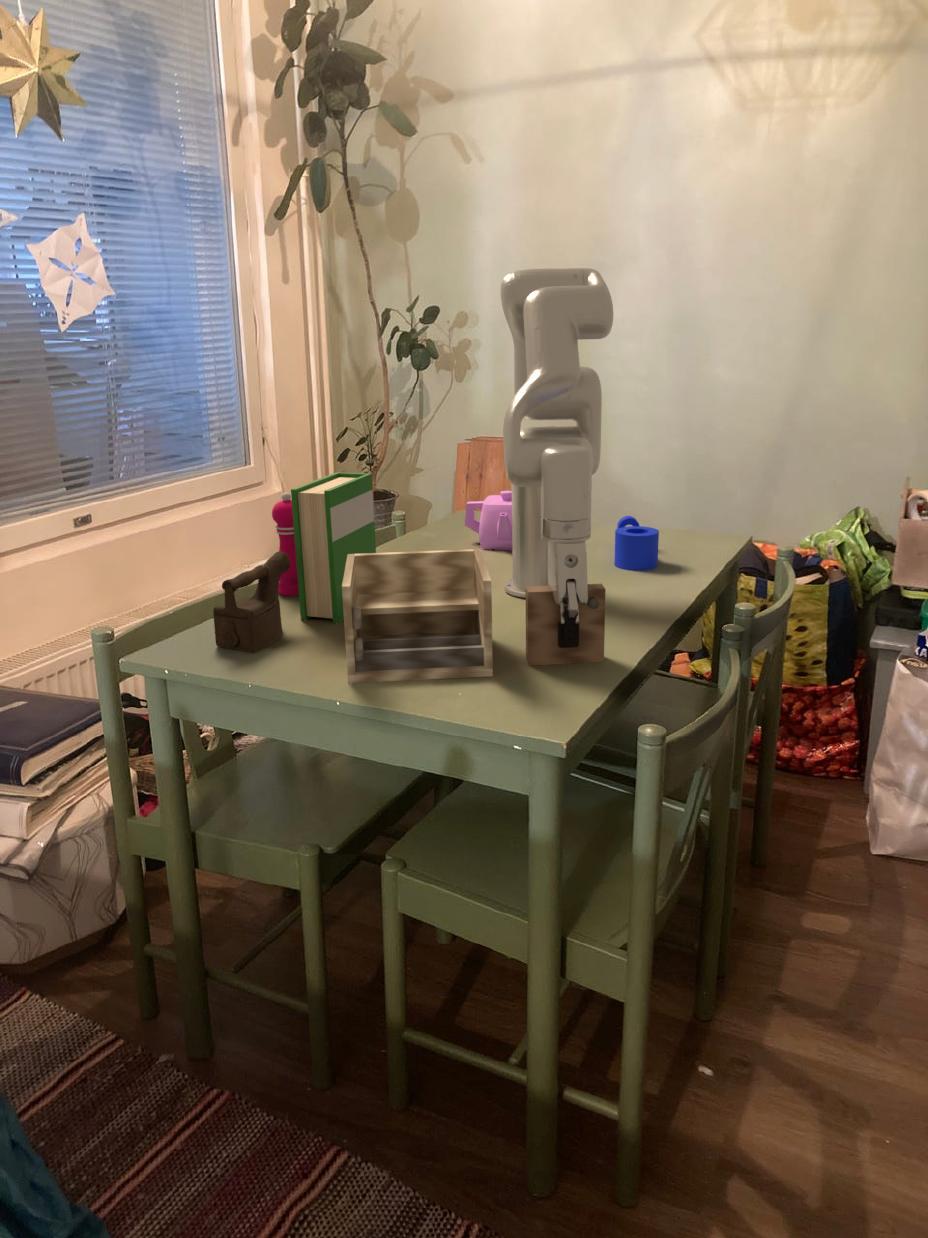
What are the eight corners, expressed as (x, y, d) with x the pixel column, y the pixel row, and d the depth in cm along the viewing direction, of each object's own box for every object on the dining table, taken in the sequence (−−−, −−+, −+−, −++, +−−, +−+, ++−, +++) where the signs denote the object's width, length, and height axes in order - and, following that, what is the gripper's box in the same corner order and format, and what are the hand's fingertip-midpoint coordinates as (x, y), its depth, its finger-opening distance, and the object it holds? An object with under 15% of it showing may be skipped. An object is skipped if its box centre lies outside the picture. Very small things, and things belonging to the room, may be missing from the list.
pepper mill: (277, 587, 198) (269, 489, 192) (313, 585, 199) (306, 488, 193) (273, 597, 192) (264, 496, 185) (310, 595, 192) (303, 495, 186)
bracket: (660, 571, 204) (662, 535, 202) (616, 571, 205) (617, 536, 202) (647, 548, 223) (648, 515, 220) (607, 549, 223) (608, 516, 221)
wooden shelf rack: (481, 635, 168) (480, 548, 163) (492, 676, 149) (491, 580, 145) (353, 640, 166) (347, 554, 162) (347, 682, 148) (341, 586, 143)
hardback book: (337, 623, 175) (329, 491, 168) (301, 620, 178) (290, 489, 170) (378, 595, 191) (371, 473, 184) (344, 593, 194) (336, 472, 186)
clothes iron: (307, 626, 174) (301, 553, 170) (251, 655, 161) (244, 576, 157) (270, 621, 178) (264, 549, 174) (213, 648, 164) (205, 571, 160)
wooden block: (600, 655, 157) (601, 583, 153) (605, 664, 153) (607, 591, 149) (525, 658, 156) (525, 586, 153) (529, 668, 152) (529, 594, 149)
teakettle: (511, 531, 241) (510, 481, 237) (558, 543, 228) (559, 491, 224) (456, 543, 231) (455, 491, 227) (503, 556, 218) (502, 501, 215)
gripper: (601, 540, 141) (599, 657, 146) (580, 515, 157) (578, 621, 163) (550, 542, 140) (549, 660, 146) (533, 516, 157) (533, 623, 162)
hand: (564, 638), depth 154 cm, fingers open, 5 cm apart
